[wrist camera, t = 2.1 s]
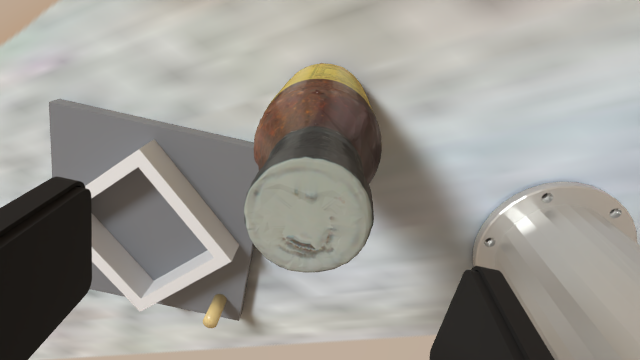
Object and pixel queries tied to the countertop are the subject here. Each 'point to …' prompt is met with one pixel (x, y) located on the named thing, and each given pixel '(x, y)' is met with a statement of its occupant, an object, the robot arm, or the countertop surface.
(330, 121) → the sauce bottle
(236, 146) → the locating plate
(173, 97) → the countertop surface
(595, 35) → the countertop surface
